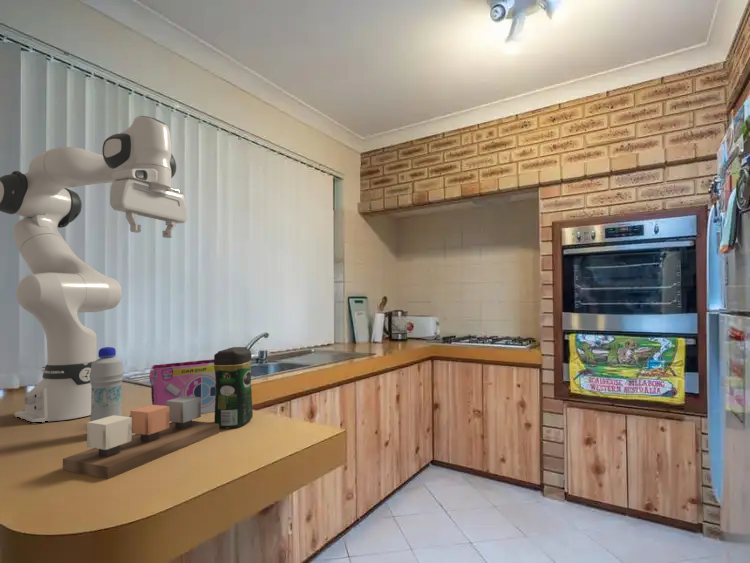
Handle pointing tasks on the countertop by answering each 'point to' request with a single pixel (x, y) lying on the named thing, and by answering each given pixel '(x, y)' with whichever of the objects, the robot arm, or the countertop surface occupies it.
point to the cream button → (109, 432)
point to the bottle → (106, 385)
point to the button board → (139, 449)
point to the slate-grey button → (184, 409)
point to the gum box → (184, 382)
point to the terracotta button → (150, 419)
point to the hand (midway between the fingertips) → (152, 235)
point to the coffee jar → (233, 387)
